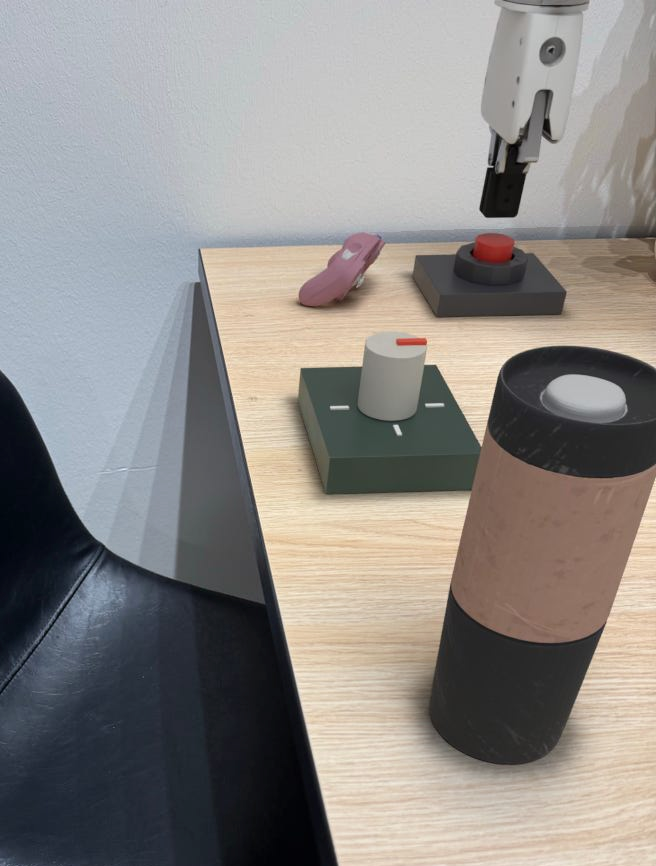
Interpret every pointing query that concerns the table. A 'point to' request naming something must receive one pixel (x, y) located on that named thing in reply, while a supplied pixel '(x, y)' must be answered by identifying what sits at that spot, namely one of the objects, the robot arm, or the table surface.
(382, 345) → the dial
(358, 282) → the pink rounded piece
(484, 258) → the button
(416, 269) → the button box
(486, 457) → the travel mug
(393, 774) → the table surface
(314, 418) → the panel
